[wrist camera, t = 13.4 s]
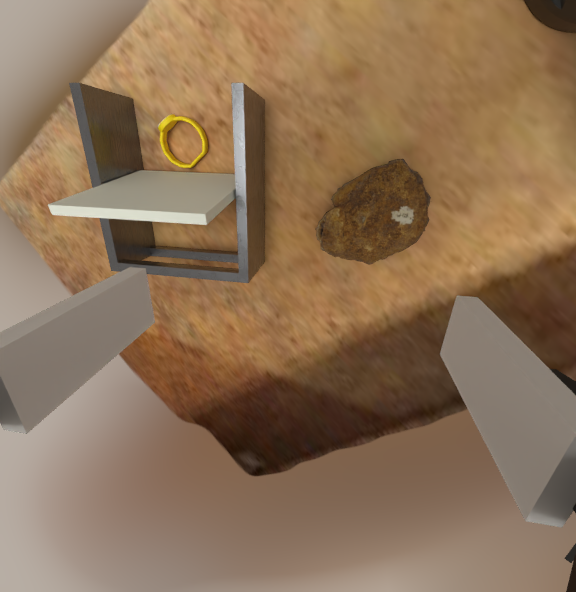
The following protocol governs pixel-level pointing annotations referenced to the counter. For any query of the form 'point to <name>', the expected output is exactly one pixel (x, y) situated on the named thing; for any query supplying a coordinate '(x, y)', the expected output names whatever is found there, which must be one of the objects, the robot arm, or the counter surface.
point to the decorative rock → (376, 214)
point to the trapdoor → (154, 197)
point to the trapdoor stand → (127, 159)
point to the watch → (163, 128)
